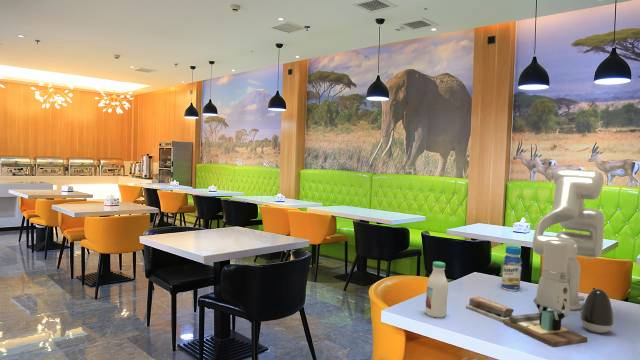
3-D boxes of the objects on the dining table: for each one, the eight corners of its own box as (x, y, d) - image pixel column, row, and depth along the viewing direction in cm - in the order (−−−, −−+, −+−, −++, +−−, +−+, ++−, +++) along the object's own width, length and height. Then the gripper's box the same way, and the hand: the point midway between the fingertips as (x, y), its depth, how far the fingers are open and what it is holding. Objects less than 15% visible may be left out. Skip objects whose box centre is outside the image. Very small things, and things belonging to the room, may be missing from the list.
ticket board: (535, 320, 174) (536, 311, 173) (586, 341, 154) (587, 331, 154) (503, 324, 167) (504, 314, 167) (552, 347, 148) (553, 336, 148)
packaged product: (465, 297, 184) (482, 294, 189) (464, 308, 184) (481, 306, 190) (503, 310, 169) (520, 307, 174) (502, 323, 169) (519, 320, 174)
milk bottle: (447, 313, 176) (451, 262, 175) (444, 319, 169) (447, 266, 168) (427, 309, 179) (430, 259, 178) (423, 315, 172) (426, 262, 171)
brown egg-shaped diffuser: (605, 327, 170) (609, 287, 170) (617, 337, 160) (620, 294, 159) (575, 323, 172) (579, 283, 172) (585, 333, 162) (588, 291, 162)
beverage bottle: (522, 289, 218) (525, 247, 217) (516, 292, 211) (519, 249, 211) (504, 285, 223) (508, 244, 222) (497, 288, 217) (501, 246, 216)
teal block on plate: (553, 324, 165) (554, 307, 165) (567, 330, 159) (569, 312, 159) (526, 328, 160) (527, 309, 160) (540, 334, 154) (542, 315, 154)
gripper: (584, 281, 151) (579, 335, 152) (541, 269, 167) (537, 318, 168) (568, 282, 149) (563, 337, 149) (526, 270, 164) (522, 320, 165)
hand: (549, 326), depth 159 cm, fingers open, 4 cm apart
